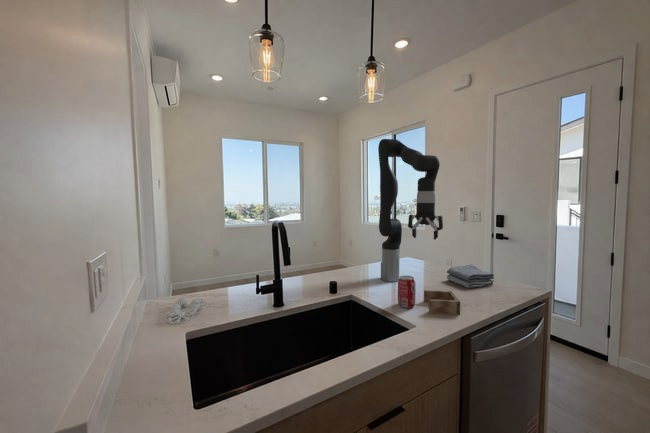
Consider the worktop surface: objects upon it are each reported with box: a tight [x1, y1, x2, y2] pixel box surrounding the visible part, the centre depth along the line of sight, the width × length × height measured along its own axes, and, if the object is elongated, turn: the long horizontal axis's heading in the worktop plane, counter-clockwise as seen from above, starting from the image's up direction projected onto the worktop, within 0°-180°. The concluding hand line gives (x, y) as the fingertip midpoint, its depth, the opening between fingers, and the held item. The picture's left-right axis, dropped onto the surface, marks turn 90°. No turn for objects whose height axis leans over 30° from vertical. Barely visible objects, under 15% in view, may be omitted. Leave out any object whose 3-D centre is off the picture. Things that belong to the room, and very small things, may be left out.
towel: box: [446, 264, 495, 289], centre depth 144 cm, size 15×18×8 cm
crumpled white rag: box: [163, 296, 209, 325], centre depth 109 cm, size 19×14×4 cm
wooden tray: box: [423, 289, 461, 315], centre depth 113 cm, size 11×12×5 cm
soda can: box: [397, 275, 417, 309], centre depth 115 cm, size 7×7×12 cm
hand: (424, 238), depth 122 cm, fingers open, 8 cm apart
